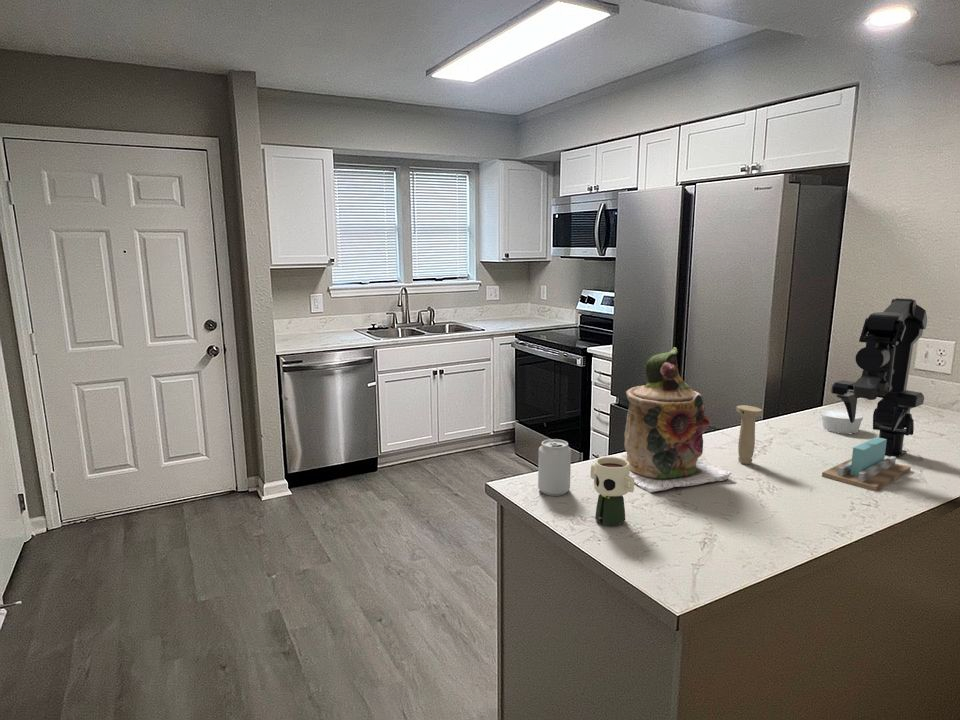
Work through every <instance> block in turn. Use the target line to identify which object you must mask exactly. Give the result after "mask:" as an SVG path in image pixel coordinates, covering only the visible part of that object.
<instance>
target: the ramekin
mask: <svg viewBox="0 0 960 720" xmlns="http://www.w3.org/2000/svg"><path fill="white" fill-rule="evenodd" d="M820 416H821V420H822V427H823V429H824V428H825V429H827V430H829V431H828V432H830V431H833V432H832V433H834V432H839V433H854V434H857V433H858V432H859V429H860V427H861V425H862V421H863V419H864V416H863V415H861V414H860V413H857V412H856V415H855V420H854V422H853V423H851V422H850V419H849V416H848V412H847V410H843V409H842V410H841V409H826V410H823V411H821V412H820ZM825 429H824V430H825ZM827 430H826V431H827ZM839 433H838V434H839Z"/></svg>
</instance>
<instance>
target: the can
mask: <svg viewBox="0 0 960 720" xmlns="http://www.w3.org/2000/svg"><path fill="white" fill-rule="evenodd" d="M571 461H572V449H571V447H570V446H569V442H568V441H566V440H563V439H558V438H554V439H553V438H551V439H545V440H543V441H542V442H541V446H539V447H538V469H537V470H538V471H537V472H538V474H537V479H538V480H537V486H538V489H539V490H540V491H541V493H542V494H545V495H546V496H552V497H558V496H563V495H565V494H567V493H568V492H569V491H570V489H571V467H572V466H571V465H572V464H571V463H572V462H571Z"/></svg>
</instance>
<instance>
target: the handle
mask: <svg viewBox="0 0 960 720" xmlns="http://www.w3.org/2000/svg"><path fill="white" fill-rule="evenodd" d="M735 411H736V413H738V414H739V415H740V416H741V421H740V430H739V436H738V441H737V442H738V443H737V444H738V445H737V446H738V447H737V448H738V449H737V452H738V462H739V463H740V464H743V465H749V464H750V465H751V464H752V462H753V456H754V452H755V447H756V446H755V443H756V420H757V417H760V416H762V415H763V409H761V408H759V407H757V406H752V405H744V404H742V405H737V406H736V408H735Z"/></svg>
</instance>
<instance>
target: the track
mask: <svg viewBox="0 0 960 720" xmlns="http://www.w3.org/2000/svg"><path fill="white" fill-rule="evenodd" d="M896 460H897V457H896V456H891V455H890V456H889V457H888V458H884V460H883V461H881V462H879V463H877V464H875V465H873V466H871V467H869V468H867V469H865V470H863V471H862V472H860V473H859V475H858V476H854V475H850V472H851V463H852V458H850V459H848V460H845V461H844V462H842V463H839V464H838V465H835V466H833V467H830V468H828V469H827V470H824V471H822V474H821V477H823V478H827V479H830V480H834V481H838V482H842V483H845V484H848V485H852V486H856V487H859V488H863V489H867V490H870V491H874V492H876V491H877V490H879V489H881V488H883V487H885V486H886V485H888V484H890V483H892V482H893V481H895V480H897V479H899V478H900V477H902V476H904V475H906V474H907V473H909V472H911V468H912V467H911V466H908V465H903V464H901V463H900V464H899V463H896Z"/></svg>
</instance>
